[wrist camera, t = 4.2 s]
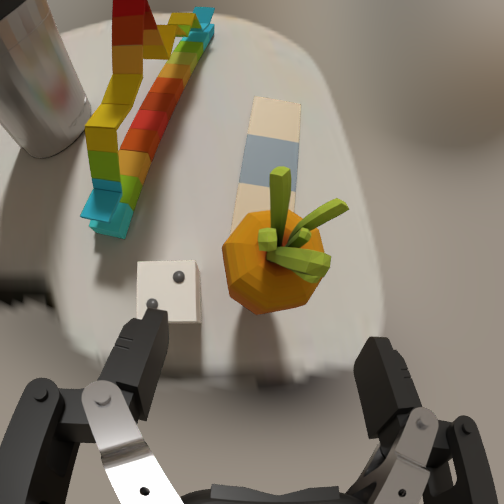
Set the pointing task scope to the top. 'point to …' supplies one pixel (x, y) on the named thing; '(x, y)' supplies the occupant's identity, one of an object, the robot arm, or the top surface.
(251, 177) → the flat strip
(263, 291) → the carrot
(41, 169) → the top surface
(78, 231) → the top surface
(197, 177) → the top surface
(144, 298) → the die
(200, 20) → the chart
